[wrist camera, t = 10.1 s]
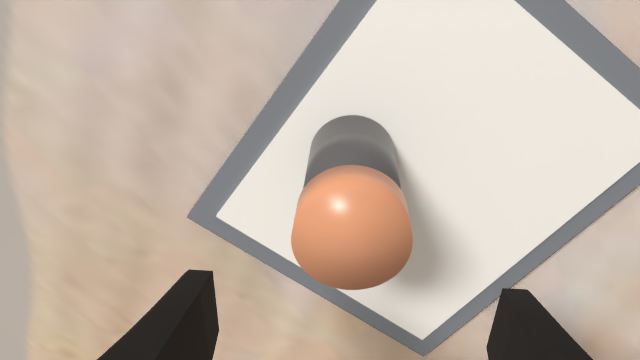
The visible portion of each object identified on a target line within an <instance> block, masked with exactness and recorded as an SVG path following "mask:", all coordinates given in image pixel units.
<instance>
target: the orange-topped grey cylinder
mask: <svg viewBox="0 0 640 360" xmlns="http://www.w3.org/2000/svg"><path fill="white" fill-rule="evenodd" d="M291 246H292V251H293V254H294V256H295V259H296V261H297V262H298V264H299V265H300V267H301V268H302V269H303V270H304V271H305V272H306V273H307V274H308V275H309V276H311V277H312V278H313V279H315V280H317V281H318V282H320V283H322V284H325V285H327V286H330V287H333V288H338V289H343V290H361V289H368V288H372V287H375V286H378V285H381V284H383V283H385V282H387V281H388V280H390V279H392V278H393V277H394V276H395V275H397V274H398V273H399V272H400V271H401V270H402V269H403V267H404V266H405V265H406V263H407V261H408V259H409V257H410V254H411V251H412V246H413V237H412V231H411V225H410V219H409V214H408V208H407V203H406V199H405V197H404V194H403V192H402V191H401V186H400V180H399V174H398V168H397V162H396V156H395V150H394V144H393V141H392V139H391V137H390V135H389V133H388V132H387V131H386V130H385V128H384V127H383V126H381V125H380V124H379V123H377V122H376V121H374V120H372V119H370V118H367V117H364V116H359V115H346V116H341V117H338V118H335V119H333V120H331V121H329V122H327V123H326V124H325V125H323V126H322V127H321V128H320V129H319V130H318V132H317V133H316V134H315V136H314V138H313V140H312V143H311V148H310V153H309V159H308V164H307V170H306V175H305V181H304V186H303V190H302V192H301V194H300V196H299V199H298V202H297V208H296V213H295V218H294V223H293V229H292V234H291Z"/></svg>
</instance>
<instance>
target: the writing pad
mask: <svg viewBox="0 0 640 360" xmlns="http://www.w3.org/2000/svg"><path fill="white" fill-rule="evenodd" d="M346 115H359V116H364V117H367V118H370V119H372V120H374V121H376V122H377V123H379V124H380V125H381V126H383V127H384V128H385V130H386V131H387V132H388V133H389V135H390V137H391V139H392V141H393V144H394V150H395V156H396V162H397V168H398V174H399V180H400V186H401V191H402V192H403V194H404V197H405V199H406V203H407V208H408V214H409V219H410V225H411V231H412V237H413V246H412V251H411V254H410V257H409V259H408V261H407V263H406V265H405V266H404V267H403V269H402V270H401V271H400V272H399V273H398V274H397V275H395V276H394V277H393V278H392V279H390V280H388V281H387V282H385V283H383V284H381V285H378V286H375V287H372V288H368V289H361V290H343V289H338V288H333V287H330V286H327V285H325V284H322V283H320V282H318V281H317V280H315V279H313V278H312V277H311V276H309V275H308V274H307V273H306V272H305V271H304V270H303V269H302V268H301V267H300V265H299V264H298V262H297V261H296V259H295V256H294V254H293V251H292V246H291V234H292V229H293V223H294V218H295V213H296V208H297V202H298V199H299V196H300V194H301V192H302V190H303V186H304V181H305V175H306V170H307V164H308V159H309V153H310V148H311V143H312V140H313V138H314V136H315V134H316V133H317V132H318V130H319V129H320V128H321V127H322V126H323V125H325V124H326V123H327V122H329V121H331V120H333V119H335V118H338V117H341V116H346ZM638 185H640V68H639V67H638V66H637V65H636V64H634V63H633V62H632V61H631V60H630V59H629V58H628V57H627V56H626V55H625V54H623V53H622V52H621V51H620V50H619V49H618V48H617V47H616V46H615V45H613V44H612V43H611V42H610V41H609V40H608V39H607V38H606V37H605V36H603V35H602V34H601V33H600V32H599V31H598V30H597V29H596V28H595V27H594V26H592V25H591V24H590V23H589V22H588V21H587V20H586V19H585V18H584V17H582V16H581V15H580V14H579V13H578V12H577V11H576V10H575V9H574V8H572V7H571V6H570V5H569V4H568V3H567V2H566V1H565V0H340V1H339V2H338V4H337V5H336V7H335V8H334V9H333V11H332V12H331V14H330V15H329V16H328V18H327V19H326V21H325V22H324V23H323V25H322V26H321V28H320V29H319V31H318V32H317V33H316V35H315V36H314V38H313V39H312V40H311V42H310V43H309V45H308V46H307V47H306V49H305V50H304V52H303V53H302V54H301V56H300V57H299V59H298V60H297V62H296V63H295V64H294V66H293V67H292V69H291V70H290V71H289V73H288V74H287V76H286V77H285V78H284V80H283V81H282V83H281V84H280V85H279V87H278V88H277V90H276V91H275V93H274V94H273V95H272V97H271V98H270V100H269V101H268V102H267V104H266V105H265V107H264V108H263V109H262V111H261V112H260V114H259V115H258V116H257V118H256V119H255V121H254V122H253V124H252V125H251V126H250V128H249V129H248V131H247V132H246V133H245V135H244V136H243V138H242V139H241V140H240V142H239V143H238V145H237V146H236V147H235V149H234V150H233V152H232V153H231V154H230V156H229V157H228V159H227V160H226V162H225V163H224V164H223V166H222V167H221V169H220V170H219V171H218V173H217V174H216V176H215V177H214V178H213V180H212V181H211V183H210V184H209V185H208V187H207V188H206V190H205V191H204V193H203V194H202V195H201V197H200V198H199V200H198V201H197V202H196V204H195V205H194V207H193V208H192V209H191V211H190V212H189V214H188V216H187V218H189V219H190V220H192V221H194V222H195V223H197V224H199V225H201V226H202V227H204V228H206V229H207V230H209V231H211V232H212V233H214V234H216V235H218V236H219V237H221V238H223V239H224V240H226V241H228V242H229V243H231V244H233V245H235V246H236V247H238V248H240V249H241V250H243V251H245V252H246V253H248V254H250V255H252V256H253V257H255V258H257V259H258V260H260V261H262V262H263V263H265V264H267V265H269V266H270V267H272V268H274V269H275V270H277V271H279V272H280V273H282V274H284V275H286V276H287V277H289V278H291V279H292V280H294V281H296V282H297V283H299V284H301V285H303V286H304V287H306V288H308V289H309V290H311V291H313V292H315V293H316V294H318V295H320V296H321V297H323V298H325V299H326V300H328V301H330V302H332V303H333V304H335V305H337V306H338V307H340V308H342V309H343V310H345V311H347V312H349V313H350V314H352V315H354V316H355V317H357V318H359V319H360V320H362V321H364V322H366V323H367V324H369V325H371V326H372V327H374V328H376V329H377V330H379V331H381V332H383V333H384V334H386V335H388V336H389V337H391V338H393V339H394V340H396V341H398V342H400V343H401V344H403V345H405V346H406V347H408V348H410V349H411V350H413V351H415V352H417V353H418V354H420V355H422V356H423V357H424V356H425V355H426V354H427V353H429V352H430V351H431V350H432V349H434V348H435V347H436V346H438V345H439V344H440V343H441V342H443V341H444V340H445V339H446V338H448V337H449V336H450V335H451V334H453V333H454V332H455V331H456V330H458V329H459V328H460V327H461V326H463V325H464V324H465V323H466V322H468V321H469V320H470V319H471V318H473V317H474V316H475V315H476V314H478V313H479V312H480V311H481V310H483V309H484V308H485V307H486V306H488V305H489V304H490V303H491V302H493V301H494V300H495V299H496V298H498V297H499V296H500V295H501V291H502V288H507V289H509V288H510V287H512V286H513V285H514V284H515V283H517V282H518V281H519V280H520V279H522V278H523V277H524V276H525V275H527V274H528V273H529V272H530V271H532V270H533V269H534V268H535V267H537V266H538V265H539V264H540V263H542V262H543V261H544V260H545V259H547V258H548V257H549V256H550V255H552V254H553V253H554V252H555V251H557V250H558V249H559V248H560V247H562V246H563V245H564V244H566V243H567V242H568V241H569V240H571V239H572V238H573V237H574V236H576V235H577V234H578V233H579V232H581V231H582V230H583V229H584V228H586V227H587V226H588V225H589V224H591V223H592V222H593V221H594V220H596V219H597V218H598V217H599V216H601V215H602V214H603V213H604V212H606V211H607V210H608V209H609V208H611V207H612V206H613V205H614V204H616V203H617V202H618V201H619V200H621V199H622V198H623V197H624V196H626V195H627V194H628V193H629V192H631V191H632V190H633V189H635V188H636V187H637V186H638Z"/></svg>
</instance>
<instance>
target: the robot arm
mask: <svg viewBox="0 0 640 360" xmlns="http://www.w3.org/2000/svg"><path fill="white" fill-rule="evenodd" d="M218 332H219V326H218V317H217V307H216V298H215V289H214V280H213V271H203V270H188V271H187V272H185V273H184V274H183V276H182V277H181V278H180V279H179V280H178V281H177V282H176V283H175V284H174V285H173V286H172V287H171V288H170V289H169V291H168V292H167V293H166V294H165V295H164V296H163V297H162V298H161V299H160V300H159V301H158V302H157V303H156V304H155V305H154V306H153V307H152V308H151V309H150V310H149V311H148V312H147V313H146V314H145V315H144V316H143V317H142V318H141V319H140V320H139V321H138V322H137V323H136V324H135V325H134V326H133V327H132V328H131V329H130V330H129V331H128V332H127V333H126V334H125V335H124V336H123V337H122V338H120V339H119V340H118V341H117V342H116V343H115V344H114V345H113V346H112V347H111V348H109V349H108V350H107V351H106V352H105V353H104V354H103V355H102V356H101V357H99V358H98V359H97V360H212V358H213V354H214V350H215V345H216V341H217V336H218ZM487 353H488V359H489V360H593V359H592V358H591V357H590V356H589V355H588V354H587V353H586V352H585V351H584V350H583V349H582V348H581V347H580V346H579V345H578V344H577V343H576V342H575V341H574V339H573V338H572V337H571V336H570V335H569V334H568V333H567V332H566V331H565V330H564V329H563V328H562V327H561V326H560V324H559V323H558V322H557V321H556V320H555V319H554V318H553V317H552V316H551V315H550V314H549V312H548V311H547V310H546V309H545V308H544V307H543V306H542V305H541V304H540V302H539V301H538V300H537V299H536V298H535V297H534V296H533V295H532V294H531V293H530V292H529V291H528V290H524V289H507V288H502V291H501V295H500V299H499V303H498V306H497V310H496V314H495V317H494V321H493V325H492V329H491V332H490V336H489V340H488V343H487Z"/></svg>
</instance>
